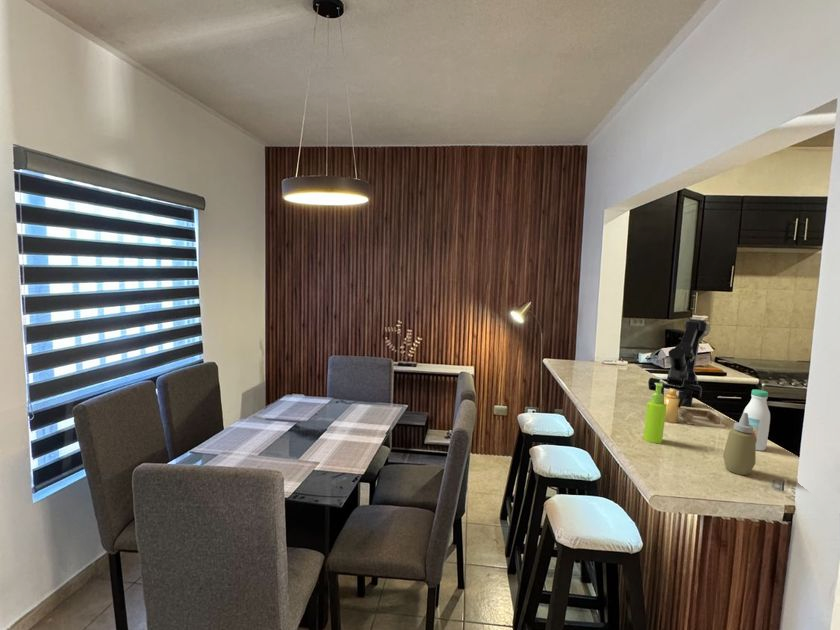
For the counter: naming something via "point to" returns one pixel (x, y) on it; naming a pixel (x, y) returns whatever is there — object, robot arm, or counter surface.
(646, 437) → the soap dispenser
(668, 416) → the amber bottle
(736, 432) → the squeeze bottle
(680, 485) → the counter surface
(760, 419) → the milk bottle
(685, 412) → the u rest
